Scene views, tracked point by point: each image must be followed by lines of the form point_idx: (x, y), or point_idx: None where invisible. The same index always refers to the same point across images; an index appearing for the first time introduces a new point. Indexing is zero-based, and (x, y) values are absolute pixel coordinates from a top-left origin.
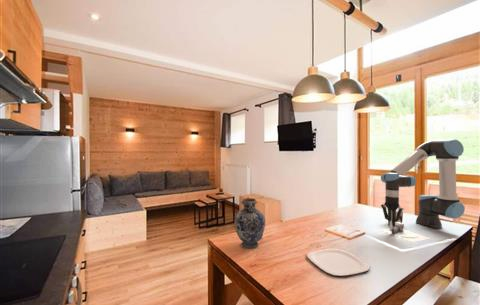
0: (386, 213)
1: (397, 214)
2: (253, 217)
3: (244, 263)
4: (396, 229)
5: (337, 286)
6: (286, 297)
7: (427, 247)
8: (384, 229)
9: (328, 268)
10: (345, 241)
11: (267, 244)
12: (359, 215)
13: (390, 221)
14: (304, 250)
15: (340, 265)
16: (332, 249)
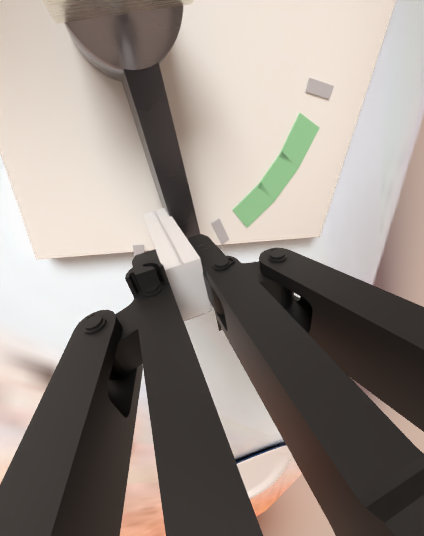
0: (106, 472)
1: (402, 405)
2: None
3: None
4: (186, 188)
5: (284, 477)
6: (264, 510)
7: (366, 187)
8: (24, 187)
9: (249, 489)
10: (143, 461)
11: None
12: None
13: (188, 314)
14: (161, 525)
15: (253, 476)
16: None
